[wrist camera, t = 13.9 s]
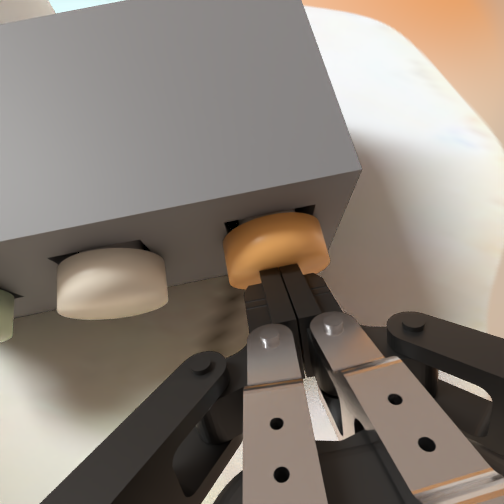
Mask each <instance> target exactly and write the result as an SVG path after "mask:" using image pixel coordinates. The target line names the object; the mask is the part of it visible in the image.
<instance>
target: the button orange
mask: <svg viewBox="0 0 504 504" xmlns="http://www.w3.org/2000/svg"><path fill="white" fill-rule="evenodd" d="M238 223H239V226H238V227H236V228H234V229H233V230H232V231H230V232H229V233H228V234H227V235H226V236H225V238H224V240H223V249H224V255H225V261H226V266H227V272H228V278H229V283H230V285H231V286H233V287H235V288H238V289H247V287H248V286H250V285H255V284H260V283H261V279H260V273H259V271H261V270H266V269H271V268H276V267H278V270H279V267H281V266H286V265H291V264H296V263H297V264H298V265H299V268H300V270H301V272H302V274H303V275H304V274H309V273H315V274H317V273H319V272H321V271H322V270H324V269H325V268H326V267H327V266H328V265H329V264H330V257H329V254H328V251H327V247H326V244H325V240H324V237H323V233H322V230H321V226H320V223H319V221H318V219H317V218H316V217H314V216H312V215H309V214H306V213H299V212H295V209H290V210H285V211H280V212H275V213H270V214H265V215H260V216H255V217H250V218H245V219H240V220H238Z"/></svg>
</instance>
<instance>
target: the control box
mask: <svg viewBox="0 0 504 504" xmlns="http://www.w3.org/2000/svg"><path fill="white" fill-rule="evenodd" d="M361 171H362V167H361V165H360V162H359V159H358V156H357V154H356V151H355V148H354V145H353V142H352V140H351V137H350V134H349V131H348V129H347V126H346V123H345V120H344V117H343V115H342V112H341V109H340V106H339V104H338V101H337V98H336V95H335V92H334V90H333V87H332V84H331V81H330V79H329V76H328V73H327V70H326V67H325V65H324V62H323V59H322V56H321V54H320V51H319V48H318V45H317V43H316V40H315V37H314V34H313V31H312V29H311V26H310V23H309V20H308V18H307V15H306V12H305V9H304V6H303V4H302V1H301V0H125V1H120V2H115V3H109V4H104V5H99V6H94V7H88V8H83V9H78V10H73V11H67V12H62V13H57V14H51V15H46V16H41V17H36V18H30V19H25V20H20V21H15V22H9V23H4V24H0V289H1V290H4V291H7V292H9V293H11V294H12V295H13V296H14V317H13V318H17V317H22V316H26V315H31V314H36V313H41V312H46V311H51V310H56V309H57V267H58V265H59V264H60V263H61V262H62V261H63V260H65V259H66V258H68V257H70V256H73V255H75V254H78V253H77V252H80V251H85V250H90V249H95V248H100V247H105V246H110V245H115V244H120V243H125V242H130V241H135V240H141V241H142V242H143V243H144V245H145V246H146V247H147V248H148V249H149V250H150V251H149V252H153V253H155V254H157V255H159V256H160V257H162V258H163V260H164V263H165V272H166V281H167V287H170V286H175V285H180V284H185V283H190V282H194V281H199V280H204V279H209V278H214V277H219V276H224V275H228V272H227V266H226V261H225V255H224V249H223V240H224V238H225V236H226V235H227V234H228V233H229V229H228V226H227V222H230V221H235V220H240V219H245V218H250V217H255V216H260V215H265V214H270V213H275V212H280V211H285V210H290V209H295V212H299V213H306V214H309V215H312V216H314V217H316V218H317V219H318V221H319V223H320V226H321V230H322V233H323V237H324V240H325V244H326V247H327V251H328V249H329V247H330V244H331V242H332V240H333V237H334V235H335V233H336V230H337V228H338V226H339V223H340V221H341V218H342V216H343V214H344V211H345V209H346V207H347V204H348V202H349V199H350V197H351V195H352V192H353V190H354V188H355V185H356V183H357V180H358V178H359V176H360V173H361Z"/></svg>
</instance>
